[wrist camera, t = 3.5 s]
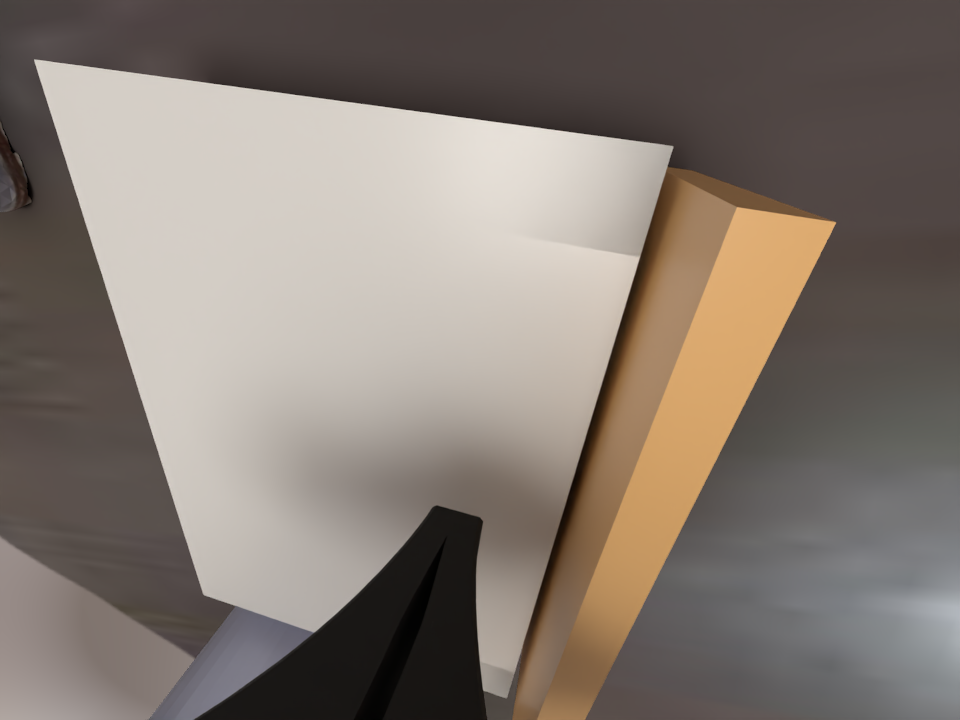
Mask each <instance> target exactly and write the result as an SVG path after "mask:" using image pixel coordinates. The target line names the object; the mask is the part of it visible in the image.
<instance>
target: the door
mask: <svg viewBox="0 0 960 720" xmlns="http://www.w3.org/2000/svg"><path fill="white" fill-rule="evenodd" d="M835 224H836V222H834V221H831V220H828V219H826V218H823V217H820V216H817V215H815V214H812V213H809V212H806V211H803V210H801V209H798V208H795V207H792V206H790V205H787V204H784V203H781V202H778V201H776V200H773V199H770V198H767V197H764V196H762V195H759V194H756V193H753V192H751V191H748V190H745V189H742V188H739V187H737V186H734V185H731V184H728V183H726V182H723V181H720V180H717V179H714V178H712V177H709V176H706V175H703V174H700V173H698V172H695V171H692V170H685V169H678V168H671V167H667V170H666V173H665V176H664V179H663V183H662V186H661V189H660V193H659V196H658V199H657V203H656V206H655V209H654V213H653V216H652V219H651V223H650V226H649V229H648V232H647V236H646V239H645V242H644V246H643V249H642V252H641V256H640V259H639V262H638V266H637V269H636V272H635V275H634V279H633V282H632V285H631V289H630V292H629V295H628V299H627V302H626V305H625V309H624V312H623V315H622V319H621V322H620V325H619V328H618V332H617V335H616V338H615V342H614V345H613V348H612V352H611V355H610V358H609V362H608V365H607V368H606V371H605V375H604V378H603V381H602V385H601V388H600V391H599V395H598V398H597V401H596V405H595V408H594V411H593V415H592V418H591V421H590V424H589V428H588V431H587V434H586V438H585V441H584V444H583V448H582V451H581V454H580V458H579V461H578V464H577V467H576V471H575V474H574V477H573V481H572V484H571V487H570V491H569V494H568V497H567V501H566V504H565V507H564V511H563V514H562V517H561V520H560V524H559V527H558V530H557V534H556V537H555V540H554V544H553V547H552V550H551V554H550V557H549V560H548V563H547V567H546V570H545V573H544V577H543V580H542V583H541V587H540V590H539V593H538V597H537V600H536V603H535V607H534V610H533V613H532V616H531V620H530V623H529V626H528V630H527V633H526V636H525V640H524V643H523V650H522V657H521V664H520V671H519V678H518V685H517V691H516V698H515V705H514V712H513V719H512V720H585V718H586V716H587V714H588V713H589V711H590V709H591V707H592V705H593V703H594V701H595V699H596V697H597V695H598V693H599V691H600V689H601V687H602V685H603V683H604V681H605V679H606V677H607V675H608V673H609V671H610V669H611V667H612V665H613V663H614V661H615V659H616V657H617V655H618V653H619V651H620V649H621V647H622V645H623V643H624V641H625V639H626V637H627V635H628V633H629V631H630V629H631V627H632V625H633V624H634V622H635V620H636V618H637V616H638V614H639V612H640V610H641V608H642V606H643V604H644V602H645V600H646V598H647V596H648V594H649V592H650V590H651V588H652V586H653V584H654V582H655V580H656V578H657V576H658V574H659V572H660V570H661V568H662V566H663V564H664V562H665V560H666V558H667V556H668V554H669V552H670V550H671V548H672V546H673V544H674V542H675V540H676V538H677V536H678V534H679V533H680V531H681V529H682V527H683V525H684V523H685V521H686V519H687V517H688V515H689V513H690V511H691V509H692V507H693V505H694V503H695V501H696V499H697V497H698V495H699V493H700V491H701V489H702V487H703V485H704V483H705V481H706V479H707V477H708V475H709V473H710V471H711V469H712V467H713V465H714V463H715V461H716V459H717V457H718V455H719V453H720V451H721V449H722V447H723V445H724V444H725V442H726V440H727V438H728V436H729V434H730V432H731V430H732V428H733V426H734V424H735V422H736V420H737V418H738V416H739V414H740V412H741V410H742V408H743V406H744V404H745V402H746V400H747V398H748V396H749V394H750V392H751V390H752V388H753V386H754V384H755V382H756V380H757V378H758V376H759V374H760V372H761V370H762V368H763V366H764V364H765V362H766V360H767V358H768V356H769V354H770V353H771V351H772V349H773V347H774V345H775V343H776V341H777V339H778V337H779V335H780V333H781V331H782V329H783V327H784V325H785V323H786V321H787V319H788V317H789V315H790V313H791V311H792V309H793V307H794V305H795V303H796V301H797V299H798V297H799V295H800V293H801V291H802V289H803V287H804V285H805V283H806V281H807V279H808V277H809V275H810V273H811V271H812V269H813V267H814V265H815V264H816V262H817V260H818V258H819V256H820V254H821V252H822V250H823V248H824V246H825V244H826V242H827V240H828V238H829V236H830V234H831V232H832V230H833V228H834V226H835Z"/></svg>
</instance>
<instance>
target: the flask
mask: <svg viewBox="0 0 960 720" xmlns="http://www.w3.org/2000/svg"><path fill="white" fill-rule="evenodd" d="M9 149H11V147H10V145H9V143H8V139H7V137H6V136H5V133H4V131H3V129H2V123H1V122H0V212H9V211H13V210H16V209H18V208H21V207H22V206H25V205H27V204H29V203H31V199H30V197H28V195H27V194H28V192H27V190H28V189H27V188H26V187H27V177H26V175H25V172H24V168H23V167H22V162H21V160H20V156H19V155H18V153H12V152H11V151H10V150H9Z"/></svg>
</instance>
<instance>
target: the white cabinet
mask: <svg viewBox="0 0 960 720" xmlns="http://www.w3.org/2000/svg"><path fill="white" fill-rule="evenodd" d="M34 61H35V65H36V68H37V71H38V74H39V77H40V80H41V84H42V87H43V90H44V93H45V96H46V99H47V102H48V106H49V109H50V112H51V115H52V118H53V121H54V125H55V128H56V131H57V134H58V137H59V140H60V143H61V147H62V150H63V153H64V156H65V159H66V162H67V166H68V169H69V172H70V175H71V178H72V181H73V185H74V188H75V191H76V194H77V197H78V200H79V203H80V207H81V210H82V213H83V216H84V219H85V222H86V226H87V229H88V232H89V235H90V238H91V241H92V244H93V248H94V251H95V254H96V257H97V260H98V263H99V267H100V270H101V273H102V276H103V279H104V282H105V285H106V289H107V292H108V295H109V298H110V301H111V304H112V308H113V311H114V314H115V317H116V320H117V323H118V327H119V330H120V333H121V336H122V339H123V342H124V345H125V349H126V352H127V355H128V358H129V361H130V364H131V368H132V371H133V374H134V377H135V380H136V383H137V386H138V390H139V393H140V396H141V399H142V402H143V405H144V409H145V412H146V415H147V418H148V421H149V424H150V428H151V431H152V434H153V437H154V440H155V443H156V446H157V450H158V453H159V456H160V459H161V462H162V465H163V469H164V472H165V475H166V478H167V481H168V484H169V487H170V491H171V494H172V497H173V500H174V503H175V506H176V510H177V513H178V516H179V519H180V522H181V525H182V528H183V532H184V535H185V538H186V541H187V544H188V547H189V551H190V554H191V557H192V560H193V563H194V566H195V570H196V573H197V576H198V579H199V582H200V585H201V588H202V592H203V595H205V596H208V597H211V598H214V599H217V600H220V601H223V602H226V603H229V604H232V605H235V606H238V607H240V608H243V609H246V610H249V611H252V612H255V613H258V614H261V615H264V616H267V617H270V618H273V619H276V620H279V621H281V622H284V623H287V624H290V625H293V626H296V627H299V628H302V629H305V630H308V631H311V632H316V631H317V630H318V629H319V628H320V627H321V626H323V625H324V624H325V623H326V622H327V621H328V620H329V619H331V618H332V617H333V616H334V615H335V614H336V613H337V612H339V611H340V610H341V609H342V608H343V607H344V606H345V605H346V604H347V603H348V602H349V601H350V600H351V599H353V598H354V597H355V596H356V595H357V594H358V593H359V592H360V591H361V590H362V589H363V588H364V587H365V586H366V585H367V584H368V583H369V582H370V581H371V580H372V579H373V578H374V577H375V576H376V575H377V574H378V573H379V572H380V571H381V569H382V568H383V567H384V566H385V565H386V564H387V563H388V562H389V561H390V560H391V558H392V557H393V556H394V555H395V554H396V553H397V552H398V551H399V549H400V548H401V547H402V546H403V545H404V544H405V543H406V541H407V540H408V539H409V538H410V537H411V535H412V534H413V533H414V532H415V530H416V529H417V528H418V527H419V525H420V524H421V523H422V521H423V520H424V519H425V517H426V516H427V514H428V513H429V512H430V510H431V509H432V507H434V506H436V505H438V506H441V507H445V508H449V509H452V510H456V511H459V512H463V513H467V514H470V515H474V516H477V517H480V518H481V519H482V520H483V526H482V532H481V538H480V544H479V549H478V555H477V567H476V611H477V631H478V645H479V657H480V667H481V676H482V686H483V691H486V692H489V693H492V694H495V695H498V696H501V697H504V698H507V696H508V693H509V689H510V686H511V683H512V679H513V676H514V673H515V669H516V666H517V663H518V659H519V656H520V653H521V650H522V646H523V643H524V640H525V636H526V633H527V630H528V626H529V623H530V620H531V616H532V613H533V610H534V607H535V603H536V600H537V597H538V593H539V590H540V587H541V583H542V580H543V577H544V573H545V570H546V567H547V563H548V560H549V557H550V554H551V550H552V547H553V544H554V540H555V537H556V534H557V530H558V527H559V524H560V520H561V517H562V514H563V511H564V507H565V504H566V501H567V497H568V494H569V491H570V487H571V484H572V481H573V477H574V474H575V471H576V467H577V464H578V461H579V458H580V454H581V451H582V448H583V444H584V441H585V438H586V434H587V431H588V428H589V424H590V421H591V418H592V415H593V411H594V408H595V405H596V401H597V398H598V395H599V391H600V388H601V385H602V381H603V378H604V375H605V371H606V368H607V365H608V362H609V358H610V355H611V352H612V348H613V345H614V342H615V338H616V335H617V332H618V328H619V325H620V322H621V319H622V315H623V312H624V309H625V305H626V302H627V299H628V295H629V292H630V289H631V285H632V282H633V279H634V275H635V272H636V269H637V266H638V262H639V259H640V256H641V252H642V249H643V246H644V242H645V239H646V236H647V232H648V229H649V226H650V223H651V219H652V216H653V213H654V209H655V206H656V203H657V199H658V196H659V193H660V189H661V186H662V183H663V179H664V176H665V173H666V170H667V166H668V163H669V160H670V156H671V153H672V150H673V146H668V145H661V144H653V143H646V142H639V141H631V140H624V139H616V138H609V137H602V136H594V135H587V134H580V133H572V132H565V131H557V130H550V129H543V128H535V127H528V126H521V125H513V124H506V123H498V122H491V121H484V120H476V119H469V118H462V117H454V116H447V115H439V114H432V113H425V112H417V111H410V110H403V109H395V108H388V107H380V106H373V105H366V104H358V103H351V102H344V101H336V100H329V99H321V98H314V97H307V96H299V95H292V94H285V93H277V92H270V91H262V90H255V89H248V88H240V87H233V86H226V85H218V84H211V83H203V82H196V81H189V80H181V79H174V78H167V77H159V76H152V75H144V74H137V73H130V72H122V71H115V70H108V69H100V68H93V67H85V66H78V65H71V64H63V63H56V62H49V61H41V60H34Z"/></svg>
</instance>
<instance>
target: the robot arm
mask: <svg viewBox="0 0 960 720" xmlns="http://www.w3.org/2000/svg"><path fill="white" fill-rule="evenodd" d="M482 526H483V520H482V519H481V518H480V517H477V516H474V515H470V514H467V513H463V512H459V511H456V510H452V509H449V508H445V507H441V506H438V505H436V506H434V507H432V509H431V510H430V512H429V513H428V514H427V516H426V517H425V519H424V520H423V521H422V523H421V524H420V525H419V527H418V528H417V529H416V530H415V532H414V533H413V534H412V535H411V537H410V538H409V539H408V540H407V541H406V543H405V544H404V545H403V546H402V547H401V548H400V549H399V551H398V552H397V553H396V554H395V555H394V556H393V557H392V558H391V560H390V561H389V562H388V563H387V564H386V565H385V566H384V567H383V568H382V569H381V571H380V572H379V573H378V574H377V575H376V576H375V577H374V578H373V579H372V580H371V581H370V582H369V583H368V584H367V585H366V586H365V587H364V588H363V589H362V590H361V591H360V592H359V593H358V594H357V595H356V596H355V597H354V598H353V599H351V600H350V601H349V602H348V603H347V604H346V605H345V606H344V607H343V608H342V609H341V610H340V611H339V612H337V613H336V614H335V615H334V616H333V617H332V618H331V619H329V620H328V621H327V622H326V623H325V624H324V625H323V626H321V627H320V628H319V629H318V630H317V631H316V632H311V631H308V630H305V629H302V628H299V627H296V626H293V625H290V624H287V623H284V622H281V621H279V620H276V619H273V618H270V617H267V616H264V615H261V614H258V613H255V612H252V611H249V610H246V609H243V608H240V607H238V606H236V607H235V608H234V609H233V610H232V612H231V613H230V614H229V616H228V617H227V618H226V620H225V621H224V622H223V623H222V625H221V626H220V627H219V629H218V630H217V631H216V633H215V634H214V635H213V636H212V638H211V639H210V640H209V642H208V643H207V644H206V646H205V647H204V648H203V650H202V651H201V652H200V653H199V655H198V656H197V657H196V659H195V660H194V661H193V663H192V664H191V665H190V666H189V668H188V669H187V670H186V672H185V673H184V674H183V676H182V677H181V678H180V679H179V681H178V682H177V683H176V685H175V686H174V687H173V689H172V690H171V691H170V692H169V694H168V695H167V697H166V698H165V699H164V700H163V702H162V703H161V704H160V705H159V707H158V708H157V709H156V711H155V712H154V713H153V715H152V716H151V717H150V719H149V720H487V716H486V708H485V701H484V693H483V686H482V676H481V667H480V657H479V645H478V631H477V611H476V567H477V555H478V549H479V544H480V538H481V532H482Z"/></svg>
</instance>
